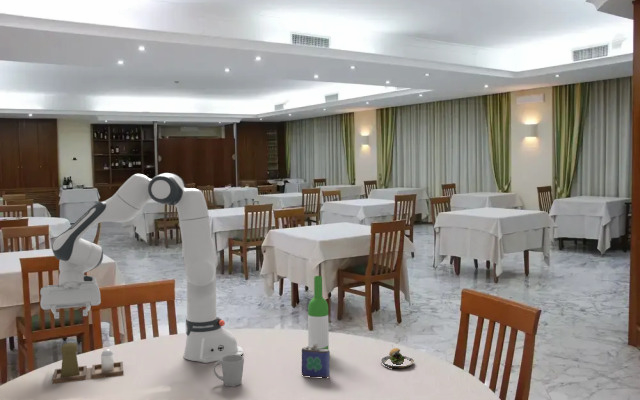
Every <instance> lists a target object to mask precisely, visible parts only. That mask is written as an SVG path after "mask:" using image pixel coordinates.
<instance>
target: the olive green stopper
mask: <svg viewBox="0 0 640 400" xmlns="http://www.w3.org/2000/svg"><path fill="white" fill-rule="evenodd" d="M60 352H61V354H62V359H61V368H60V369H61V377H69V376H78V375H80V373H79V367H78V366H79V363H78V357H77V352H78V345H77V343H76V342H66V343H64V344H63V345H61V346H60Z"/></svg>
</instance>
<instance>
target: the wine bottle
mask: <svg viewBox="0 0 640 400" xmlns="http://www.w3.org/2000/svg"><path fill="white" fill-rule="evenodd" d="M313 280H314V284H313V285H314V286H313V287H314V288H313V289H314V291H313V292H314V293H313V298H311V300H310V301H309V302H308V306H307V307H308V308H307V310H308V311H307V312H308V313H307V319H308V320H307V325H308V326H307V334H308V335H307V337H308V338H307V339H308V340H307V343H308V345H307V346H308V347H309V348H310V347H313V346H314V345H313V344H316V343H317V344H318V345H317V349H328V350H329V349H330V348H329V347H330V346H329V344H330V342H329V304H328V301H327V299H325V298H324V297H323V277H322V276H321V275H315V276H314V278H313ZM329 351H330V350H329Z"/></svg>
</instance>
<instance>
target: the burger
mask: <svg viewBox="0 0 640 400" xmlns="http://www.w3.org/2000/svg"><path fill="white" fill-rule="evenodd" d="M391 346H392V349H390V351H389V352H388V355H387V356H384V357H382V359H381V363H383V364H384V365H385V366H387V367H389V368H393V369H394V368H396V369H397V368H399V369H400V368H402V369H403V368H406V367H407V368H408V367H409V366H411V365H412V364H414V359H413V358H410V357H408V356H406V355H402V353H401V349H400V348H397V347H394V346H393V345H391ZM388 359H390V360H391V362H392V363H393V364H396V365H401V364H403V362H404V359H407V360H409V361H411V364H410V365H407V366H393V365H392V366H391V365H388V364H385V362H386V361H387V360H388Z"/></svg>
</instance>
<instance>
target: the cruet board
mask: <svg viewBox="0 0 640 400" xmlns="http://www.w3.org/2000/svg"><path fill="white" fill-rule="evenodd" d="M87 366H88V365H80V366H79V365H78V367H79V373H80V375H78V376H69V377H61V368H55V369H54V371H53V377H52V384H51V385H57V384H64V383H73V382H81V381H90V380H96V379H103V378H104V379H105V378H115V377H123V376H124V375H125V374H124V361H116V362H115V361H114V371H112V372H103V373H102V368H101V363H98V364H97V363H96V364H92V365H91V367H87Z"/></svg>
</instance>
